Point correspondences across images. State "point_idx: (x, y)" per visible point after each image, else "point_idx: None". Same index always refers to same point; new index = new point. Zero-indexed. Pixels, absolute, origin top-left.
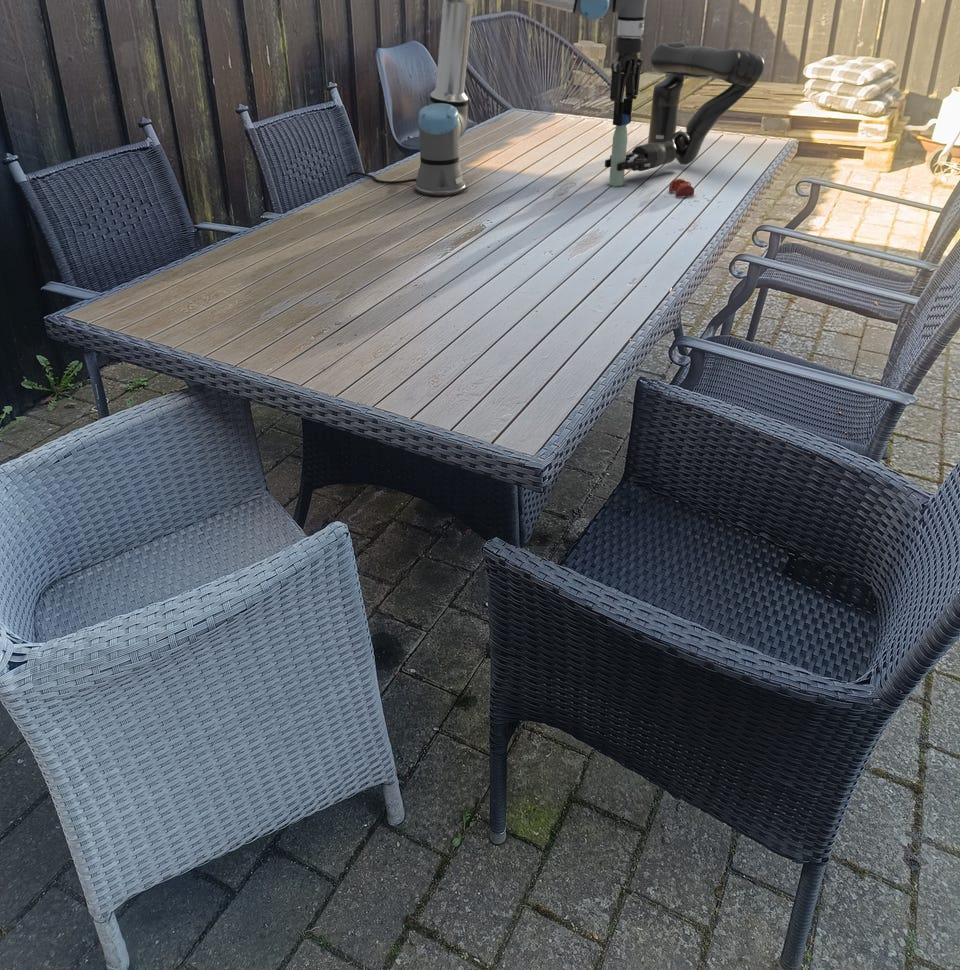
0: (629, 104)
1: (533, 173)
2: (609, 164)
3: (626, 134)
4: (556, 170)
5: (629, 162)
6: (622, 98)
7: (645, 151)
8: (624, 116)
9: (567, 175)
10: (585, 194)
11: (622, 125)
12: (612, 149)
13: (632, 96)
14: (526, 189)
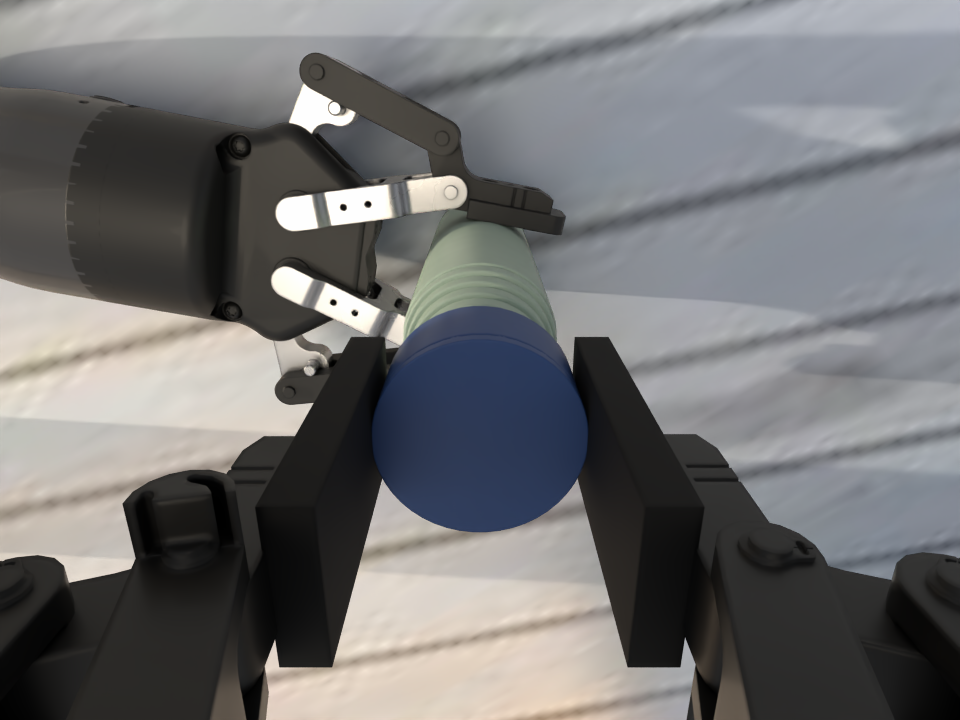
0: (340, 483)
1: (586, 660)
2: None
3: (476, 278)
4: (467, 616)
5: (463, 179)
6: (727, 575)
7: (210, 176)
8: (520, 384)
9: (507, 535)
10: (774, 271)
11: None
12: None
13: (240, 559)
14: (852, 547)
